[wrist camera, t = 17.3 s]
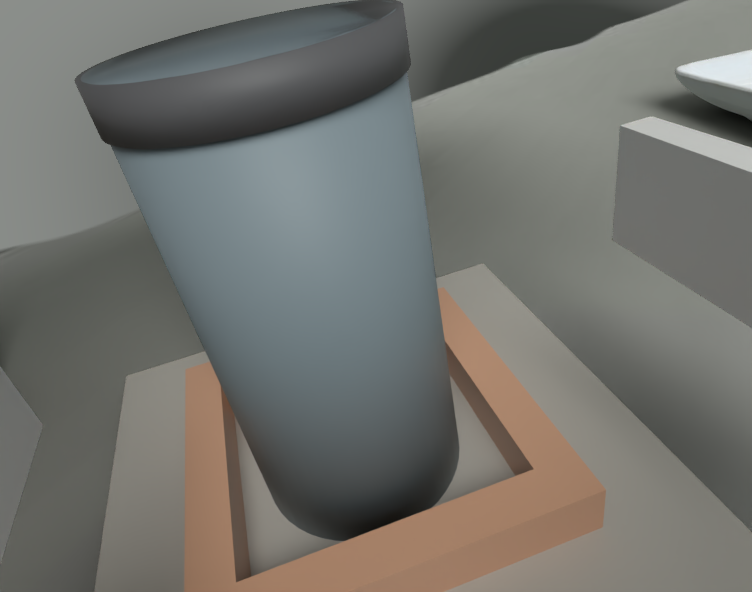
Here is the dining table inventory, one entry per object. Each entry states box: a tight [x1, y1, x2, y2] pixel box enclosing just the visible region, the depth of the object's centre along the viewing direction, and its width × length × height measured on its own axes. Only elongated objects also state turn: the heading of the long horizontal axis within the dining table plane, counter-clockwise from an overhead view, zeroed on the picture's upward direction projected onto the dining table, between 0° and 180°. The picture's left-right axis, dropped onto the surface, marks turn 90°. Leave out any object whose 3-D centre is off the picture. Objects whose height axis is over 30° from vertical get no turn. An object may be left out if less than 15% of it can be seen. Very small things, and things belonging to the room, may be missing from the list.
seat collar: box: [94, 263, 752, 592], centre depth 17 cm, size 16×16×2 cm
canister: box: [75, 0, 460, 541], centre depth 14 cm, size 6×6×12 cm
